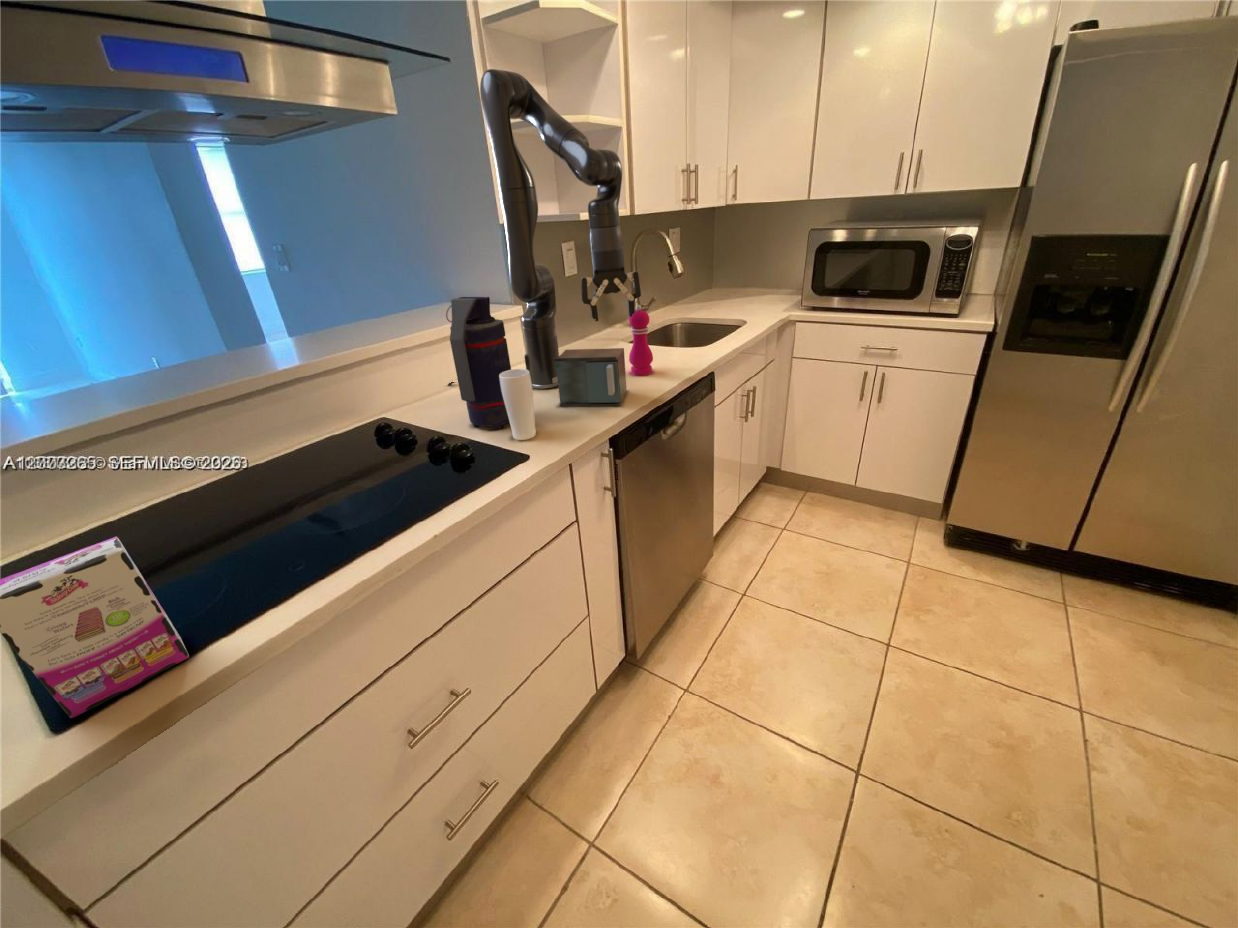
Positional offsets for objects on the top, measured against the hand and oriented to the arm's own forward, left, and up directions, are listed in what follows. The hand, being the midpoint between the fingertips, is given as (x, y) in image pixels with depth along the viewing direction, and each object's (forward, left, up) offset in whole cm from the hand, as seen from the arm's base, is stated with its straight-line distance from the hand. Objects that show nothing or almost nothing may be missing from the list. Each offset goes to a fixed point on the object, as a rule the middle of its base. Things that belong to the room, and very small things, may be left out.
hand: (613, 318), depth 129 cm
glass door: (-3, -7, -20) cm, 21 cm away
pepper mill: (+3, +23, -21) cm, 31 cm away
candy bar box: (-43, -96, -21) cm, 107 cm away
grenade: (-29, -17, -21) cm, 40 cm away
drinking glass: (-18, -25, -21) cm, 37 cm away
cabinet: (-7, +1, -21) cm, 22 cm away
